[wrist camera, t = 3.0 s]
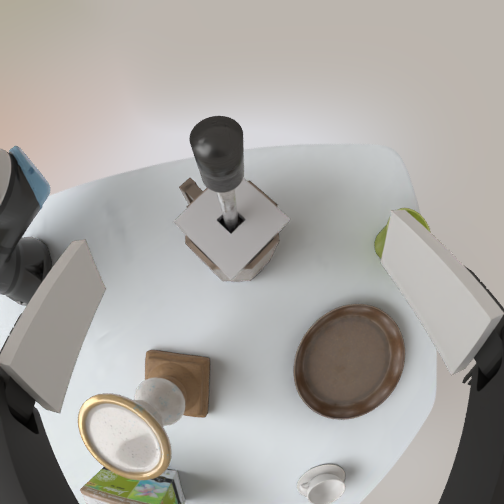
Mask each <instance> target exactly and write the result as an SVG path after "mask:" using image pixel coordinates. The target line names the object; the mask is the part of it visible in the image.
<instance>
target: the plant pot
mask: <svg viewBox="0 0 504 504" xmlns="http://www.w3.org/2000/svg"><path fill="white" fill-rule="evenodd" d="M398 210H406V211H407V212H408V213H409V214H410V215H411V216H413V217H414V218H415V219H416V220H417V221H418V222H419V223H421V224H422V225H423V226H424V227H425V228H426V229H427V230H428V231H429V232H430V229H429V226H428V224H427V222H426V221H425V219H424V218H423V217H422V216H421V215H420V214H419V213H418V212H416V211H415V210H412V209H409V208H401V209H398ZM389 220H390V218H389ZM389 220H388V223H387V225H386V226H385V227H384V228H383V230H382V231H381V232H380V233H379V234H378V235H377V237H376V240H375V250H376V253H377V255H378V256H379V257H380V258H382V253H383V249H384V245H385V240H386V235H387V230H388V225H389ZM430 233H431V232H430Z"/></svg>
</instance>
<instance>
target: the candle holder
mask: <svg viewBox="0 0 504 504" xmlns="http://www.w3.org/2000/svg"><path fill="white" fill-rule="evenodd" d="M209 375H210V359H209V358H207V357H202V356H194V355H186V354H178V353H171V352H164V351H157V350H149V351H147V352H146V360H145V381H143V382H142V383H141V384H140V385H139V386H138V387H137V389H136V392H135V396H134V400H131V399H129V398H127V397H124V396H121V395H117V394H111V393H103V394H98V395H95V396H92V397H91V398H89V399H87V400H86V401H85V402H84V403H83V405H82V406H81V408H80V411H79V414H78V427H79V432H80V435H81V438H82V440H83V442H84V444H85V446H86V447H87V449H88V450H89V452H90V453H91V454H92V455H93V457H94V458H95V459H96V460H97V461H98V462H99V463H100V464H102V465H103V466H104V467H105V468H107V469H108V470H110V471H112V472H113V473H115V474H117V475H120V476H122V477H125V478H128V479H132V480H150V479H154V478H156V477H158V476H160V475H162V474H163V473H164V472H165V471H166V469H167V468H168V466H169V464H170V461H171V455H172V450H171V444H170V441H169V437H168V435H167V433H166V431H165V430H164V428H163V426H168V425H171V424H174V423H176V422H177V421H178V420H180V419H181V417H182V416H183V415H185V416H192V417H206V415H207V413H208V401H209Z"/></svg>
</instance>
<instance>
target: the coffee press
mask: <svg viewBox="0 0 504 504" xmlns="http://www.w3.org/2000/svg"><path fill="white" fill-rule="evenodd" d="M179 188H180V190H181V192H182V194H183V195H184V197H185V199H186V201H187V203H188V206H187V209H186V210H185V211H184V212H183V213H182V214H180V215H179V216H178V217H177V218H176V219H175V220H174V221H173V222H174V223H175V224H176V225H177V226H178V227H179V228H180V229H181V230H182V231H183V232H184V233H185V234H186V237H185V244H186V245H187V246H188V247H189V248H190V249H191V250H192V251H193V252H194V253H195V254H196V255H197V256H198V257H199V258H200V259H201V260H202V261H203V262H204V263H205V264H206V265H207V266H208V267H209V268H210V269H211V271H212V272H213V273H214V274H216V275H217V276H218V277H219V278H220V279H221V280H222V281H231V282H242V281H251V280H252V279H253V278H254V277H255V276H256V275H257V274H258V273H260V272H261V270H262V269H263V268H264V266H265V265H266V264H267V263H268V262H269V261H270V260H271V257H272V255H273V253H274V251H275V249H276V247H277V245H278V243H279V232H280V231H281V230H282V229H283V228H284V227H285V226H286V225H287V224H288V223H289V221H290V218H289V217H288V216H286V215H285V214H284V213H283V212H282V211H281V210H280V209H279V208H277V204H276V203H275V202H274V201H273V200H272V199H270V198H269V197H268V196H267V195H266V194H265V193H264V192H262V191H261V190H260V189H259V188H258V187H257V186H255V185H254V184H253V183H252V182H251V181H246V180H245V179H244V178H243V180H242V182H241V183H240V185H239V186H238V187H237V188H235V195H236V205H237V214H238V216H239V217H240V218H241V219H243V220H244V222H243V223H242V224H241V225H240V226H239V227H238V228H237V229H236V230H235V231H234V232H233V233H232V234H230V233H229V232H228V231H227V230H226V229H225V228H224V227H223V226H222V225H221V224H220V223H219V221H220V220H221V219H222V218H223V215H222V211H221V208H220V204H219V200H218V196H217V192H214V191H212V190H210V189H208V188H206V189H205V190H204V191H202V190H201V189H200V188H199V187H198V186H197V184H196V182H195V181H193V180H192V179H191V178H189V179H188V180H187V181H185V182H184V183H183V184H182V185H181V186H180V187H179Z"/></svg>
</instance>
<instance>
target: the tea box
mask: <svg viewBox="0 0 504 504" xmlns="http://www.w3.org/2000/svg"><path fill="white" fill-rule="evenodd" d="M80 491H81V493H82V495H83V497H84V499H85V501H86V503H87V504H185V498H184V495H183V491H182V488H181V484H180V480H179V476H178V472H177V471H174V470H167V469H166V471H165V472H164V473H163V474H162V475H160V476H158V477H156V478H154V479H150V480H132V479H128V478H125V477H122V476H120V475H117V474H115V473H113V472H112V471H110V470H108V469H107V468H105V467H103V468H102V469H101V470H100V471H99V472H98V473H97V474H96V475H95V476H94V477H93V478H92V479H91V480H90V481H89V482H87V483H86V484H85V485H84V486H83V487H82V488H81V489H80Z"/></svg>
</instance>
